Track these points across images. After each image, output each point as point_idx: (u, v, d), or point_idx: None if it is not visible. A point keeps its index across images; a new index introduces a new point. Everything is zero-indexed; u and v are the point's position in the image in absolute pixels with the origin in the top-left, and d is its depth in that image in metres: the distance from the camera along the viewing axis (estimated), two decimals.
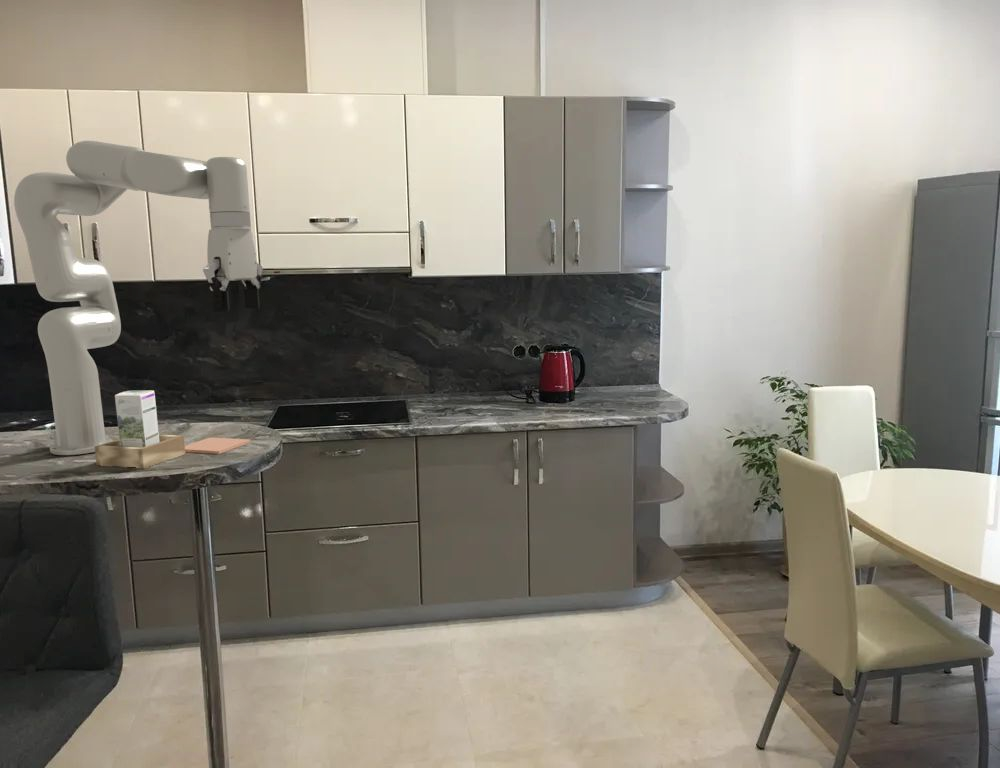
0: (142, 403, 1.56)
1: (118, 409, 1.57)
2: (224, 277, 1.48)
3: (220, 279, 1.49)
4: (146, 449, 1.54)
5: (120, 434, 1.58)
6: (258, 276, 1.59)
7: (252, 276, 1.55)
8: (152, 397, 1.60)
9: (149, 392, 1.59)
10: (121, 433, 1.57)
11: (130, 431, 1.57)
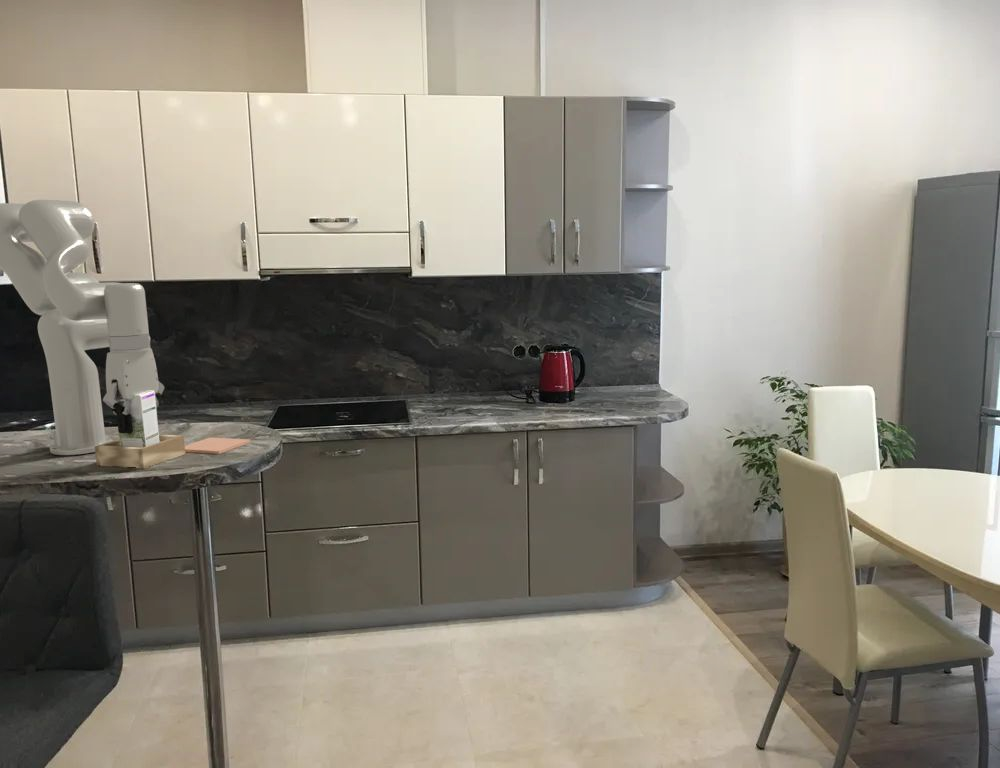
0: (142, 403, 1.56)
1: None
2: (125, 401, 1.55)
3: (122, 401, 1.56)
4: (146, 449, 1.54)
5: (120, 434, 1.58)
6: (157, 394, 1.64)
7: None
8: (152, 397, 1.60)
9: (149, 392, 1.59)
10: (121, 433, 1.57)
11: None
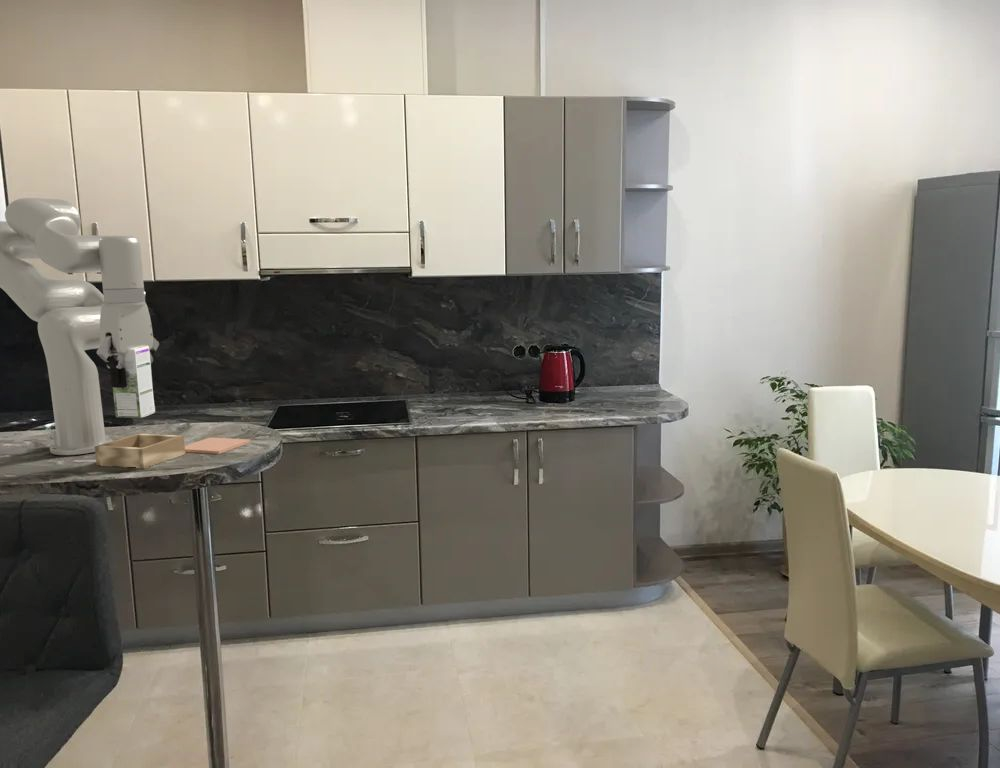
0: (136, 357, 1.55)
1: None
2: (119, 355, 1.53)
3: (115, 355, 1.54)
4: (146, 449, 1.54)
5: (114, 389, 1.56)
6: (152, 350, 1.62)
7: None
8: (147, 352, 1.59)
9: (144, 347, 1.58)
10: None
11: None
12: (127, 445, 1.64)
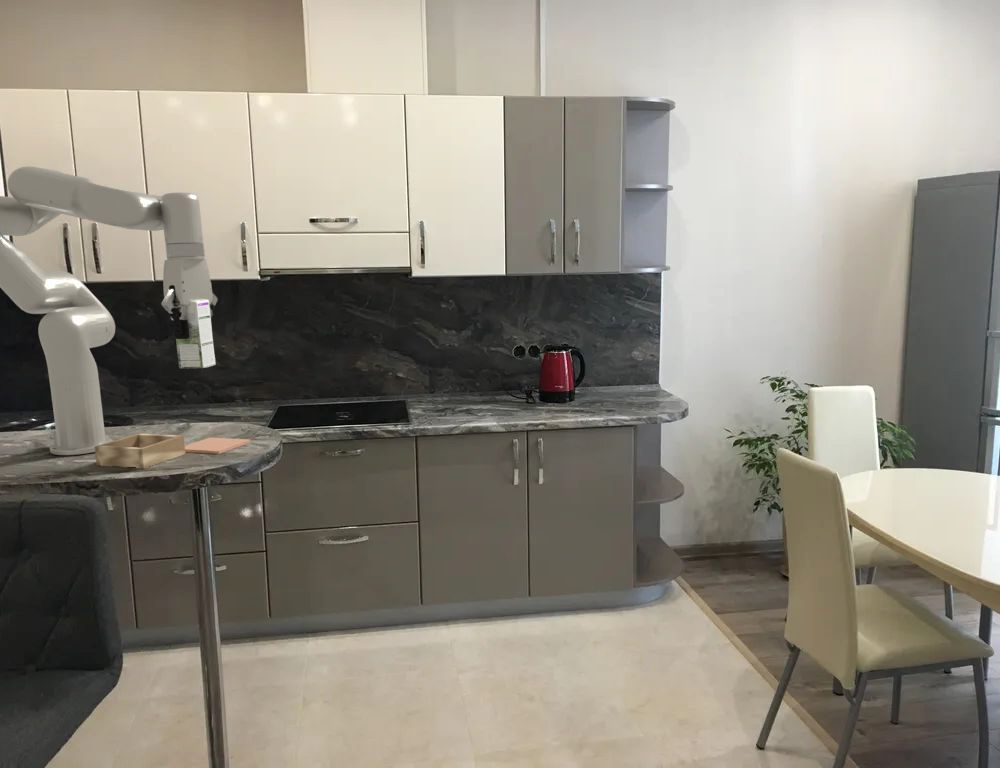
0: (198, 309, 1.61)
1: None
2: (181, 307, 1.60)
3: (178, 308, 1.61)
4: (146, 449, 1.54)
5: (177, 340, 1.63)
6: (211, 305, 1.69)
7: None
8: (207, 306, 1.65)
9: (204, 300, 1.64)
10: (178, 339, 1.63)
11: None
12: (127, 445, 1.64)
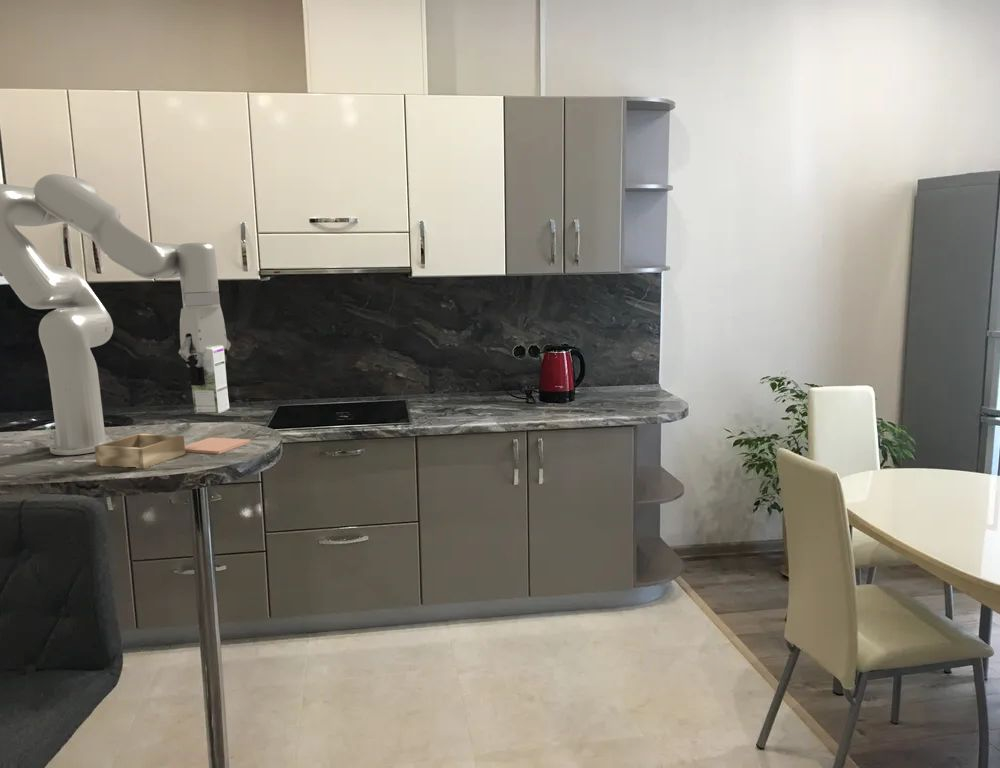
0: (213, 356, 1.65)
1: None
2: (198, 354, 1.63)
3: (194, 355, 1.64)
4: (146, 449, 1.54)
5: (193, 386, 1.66)
6: (225, 350, 1.72)
7: None
8: (222, 352, 1.69)
9: (219, 347, 1.68)
10: (194, 385, 1.66)
11: None
12: (127, 445, 1.64)
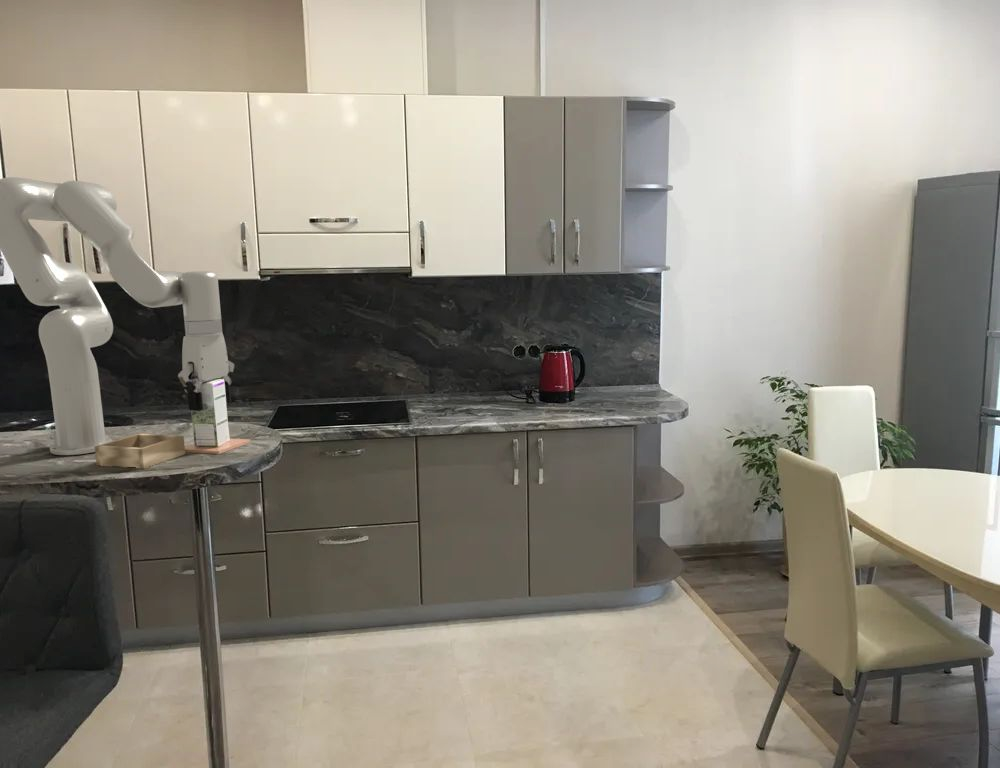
0: (213, 391, 1.66)
1: None
2: (197, 380, 1.64)
3: (194, 381, 1.64)
4: (146, 449, 1.54)
5: (193, 420, 1.67)
6: (230, 373, 1.74)
7: (224, 374, 1.70)
8: (222, 385, 1.69)
9: (220, 380, 1.69)
10: (194, 418, 1.67)
11: (202, 417, 1.67)
12: (127, 445, 1.64)
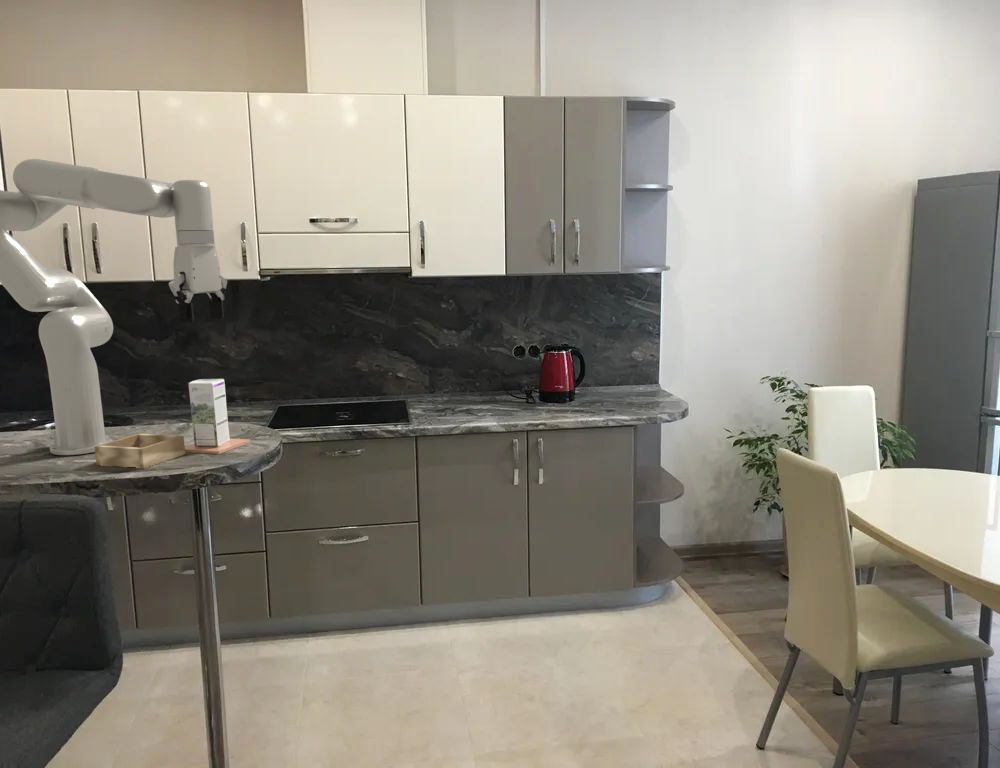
0: (213, 391, 1.66)
1: (191, 396, 1.66)
2: (189, 290, 1.60)
3: (185, 292, 1.61)
4: (146, 449, 1.54)
5: (193, 420, 1.67)
6: (223, 289, 1.71)
7: (216, 289, 1.67)
8: (222, 385, 1.69)
9: (220, 380, 1.69)
10: (194, 418, 1.67)
11: (202, 417, 1.67)
12: (127, 445, 1.64)
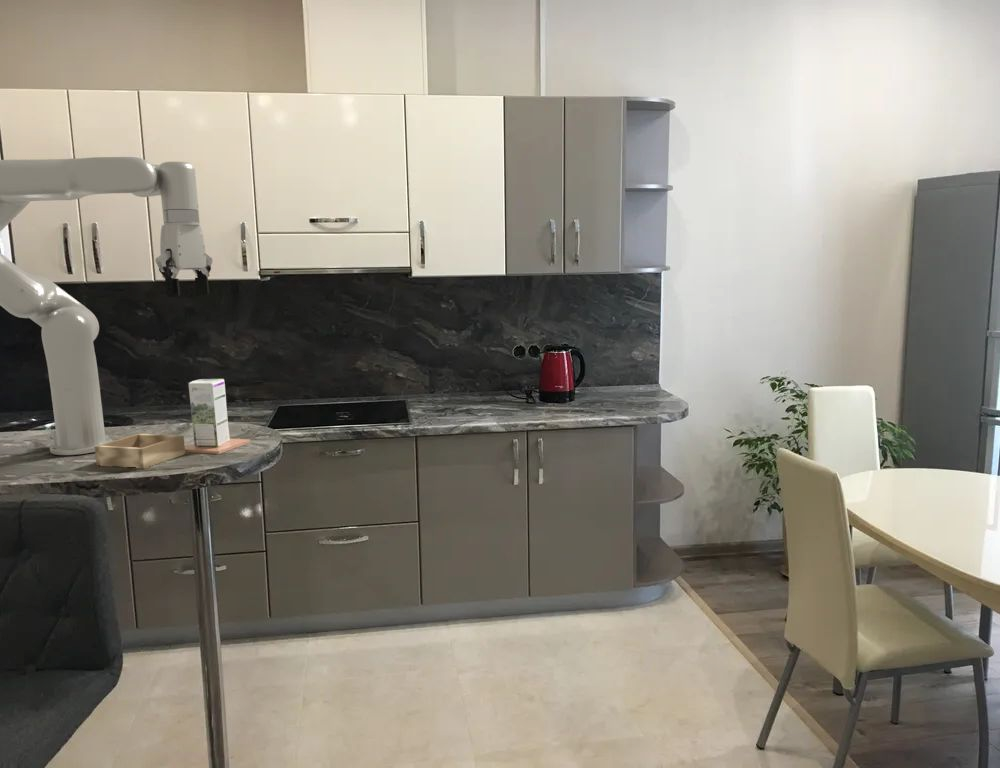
0: (213, 391, 1.66)
1: (191, 396, 1.66)
2: (175, 266, 1.69)
3: (171, 268, 1.70)
4: (146, 449, 1.54)
5: (193, 420, 1.67)
6: (208, 266, 1.80)
7: (201, 266, 1.76)
8: (222, 385, 1.69)
9: (220, 380, 1.69)
10: (194, 418, 1.67)
11: (202, 417, 1.67)
12: (127, 445, 1.64)
